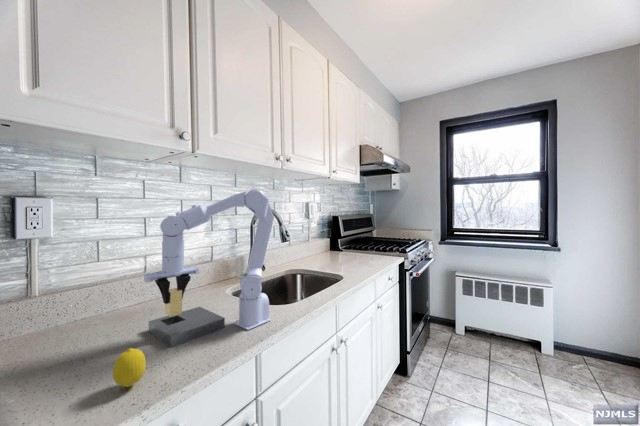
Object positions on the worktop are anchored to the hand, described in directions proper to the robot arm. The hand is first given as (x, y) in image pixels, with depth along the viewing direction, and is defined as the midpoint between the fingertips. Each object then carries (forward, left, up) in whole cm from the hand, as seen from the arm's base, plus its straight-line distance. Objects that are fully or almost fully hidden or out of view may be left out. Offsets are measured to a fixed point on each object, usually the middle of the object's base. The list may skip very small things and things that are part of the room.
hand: (173, 301), depth 77 cm
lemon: (+16, +18, -10) cm, 26 cm away
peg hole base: (-4, 0, -10) cm, 11 cm away
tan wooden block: (0, 0, -4) cm, 4 cm away
